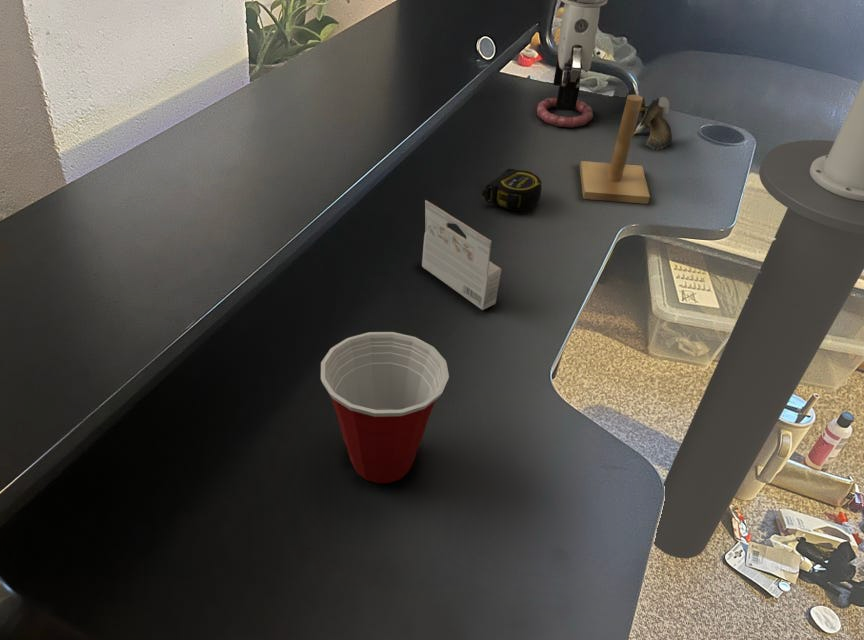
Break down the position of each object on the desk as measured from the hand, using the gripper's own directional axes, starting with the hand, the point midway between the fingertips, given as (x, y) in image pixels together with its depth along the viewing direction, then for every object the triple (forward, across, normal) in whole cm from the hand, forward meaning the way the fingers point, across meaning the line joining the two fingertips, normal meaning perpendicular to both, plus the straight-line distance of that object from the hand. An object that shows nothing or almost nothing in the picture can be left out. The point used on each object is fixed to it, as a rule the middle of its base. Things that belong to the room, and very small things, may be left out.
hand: (563, 97), depth 125 cm
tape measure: (+2, -33, +9) cm, 34 cm away
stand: (+2, -26, -6) cm, 27 cm away
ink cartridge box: (+2, -53, +15) cm, 55 cm away
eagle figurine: (+2, -9, -13) cm, 16 cm away
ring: (+1, -4, 0) cm, 4 cm away
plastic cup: (+2, -81, +20) cm, 84 cm away
